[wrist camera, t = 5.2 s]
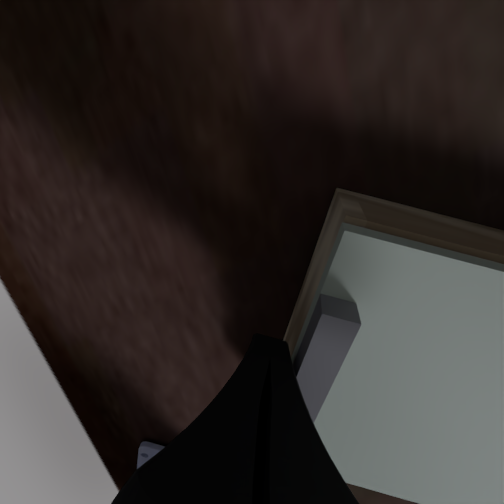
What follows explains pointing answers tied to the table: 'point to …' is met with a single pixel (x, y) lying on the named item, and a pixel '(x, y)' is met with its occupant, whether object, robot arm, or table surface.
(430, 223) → the keepsake box
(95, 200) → the table surface
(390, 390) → the lid
